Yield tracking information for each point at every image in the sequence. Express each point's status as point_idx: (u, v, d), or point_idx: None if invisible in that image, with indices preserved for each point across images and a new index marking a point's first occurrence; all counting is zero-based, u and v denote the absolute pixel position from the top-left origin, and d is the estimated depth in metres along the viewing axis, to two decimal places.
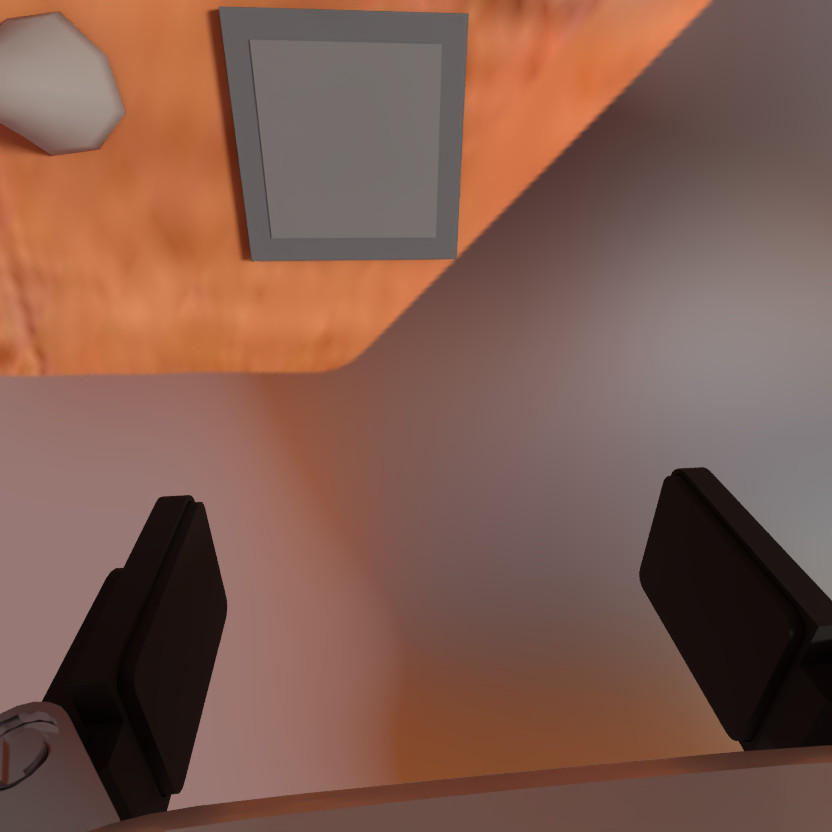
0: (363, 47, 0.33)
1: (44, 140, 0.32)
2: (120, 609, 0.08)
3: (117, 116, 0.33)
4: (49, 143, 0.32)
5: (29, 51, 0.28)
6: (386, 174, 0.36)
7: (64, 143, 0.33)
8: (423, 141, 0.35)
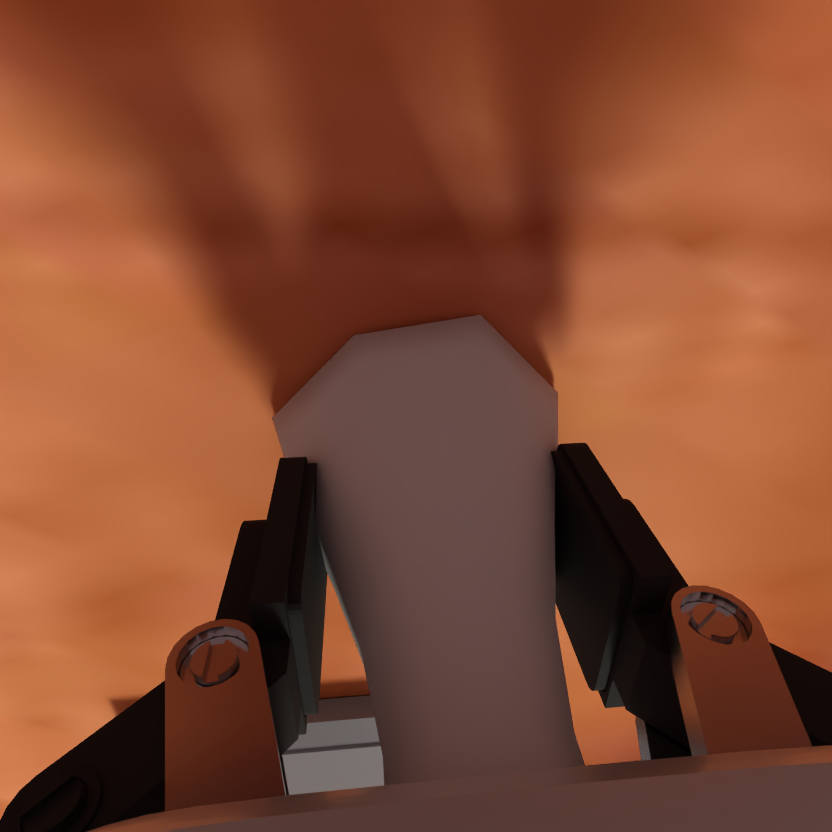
0: None
1: None
2: (276, 546, 0.09)
3: None
4: None
5: None
6: None
7: None
8: None
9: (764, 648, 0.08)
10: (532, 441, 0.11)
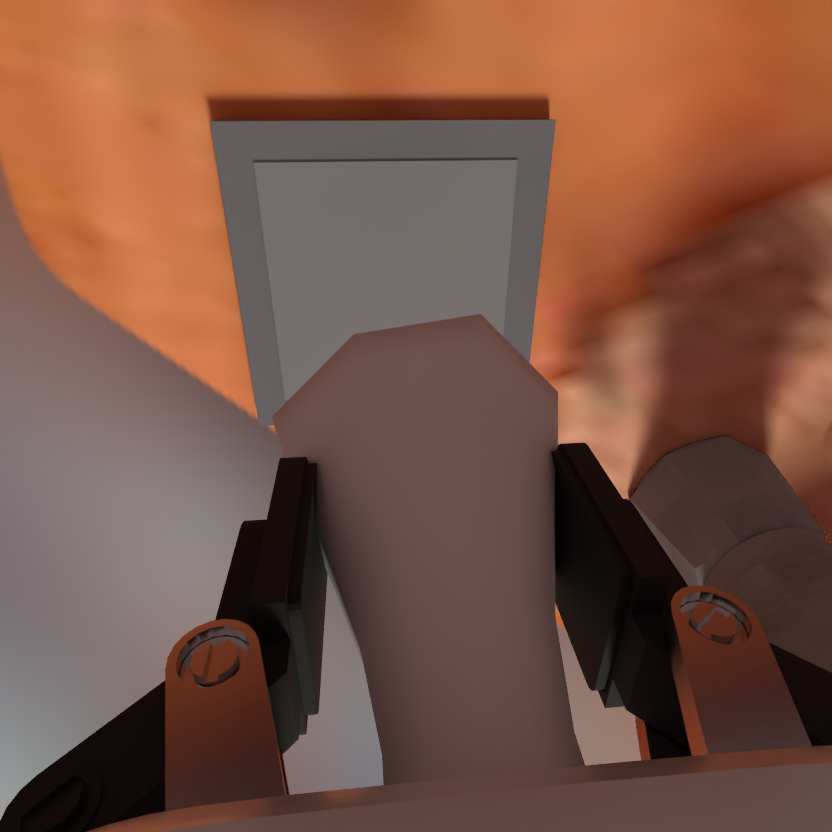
0: (500, 305, 0.27)
1: None
2: (276, 546, 0.09)
3: None
4: None
5: None
6: None
7: None
8: None
9: (764, 648, 0.08)
10: (532, 440, 0.11)
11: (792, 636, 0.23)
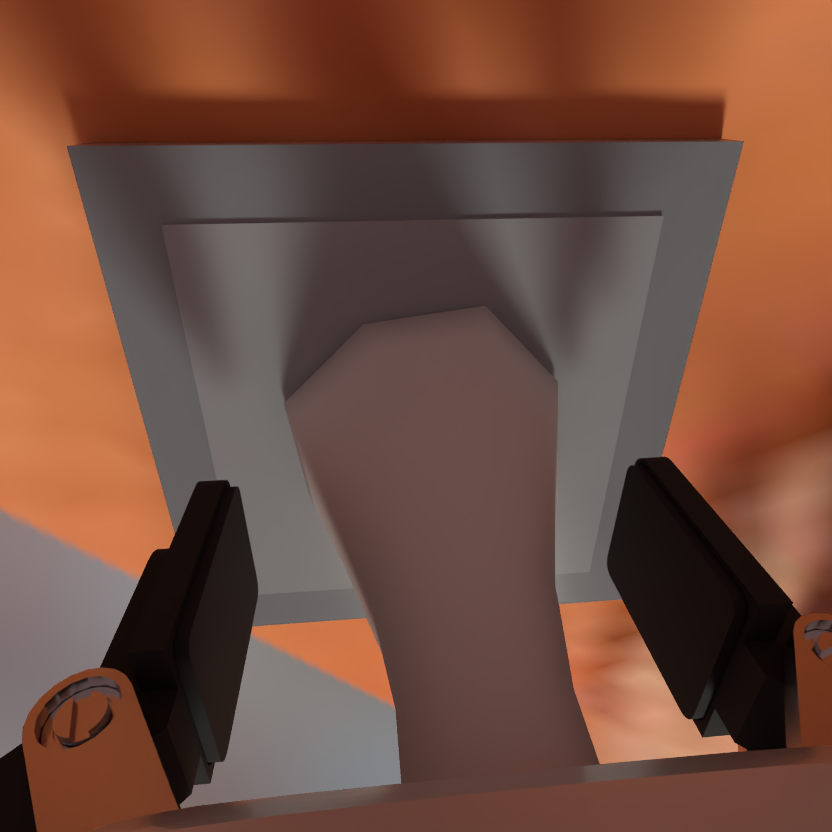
0: (604, 452, 0.16)
1: (322, 500, 0.12)
2: (171, 583, 0.08)
3: None
4: (315, 484, 0.13)
5: None
6: None
7: None
8: None
9: None
10: (534, 425, 0.12)
11: None
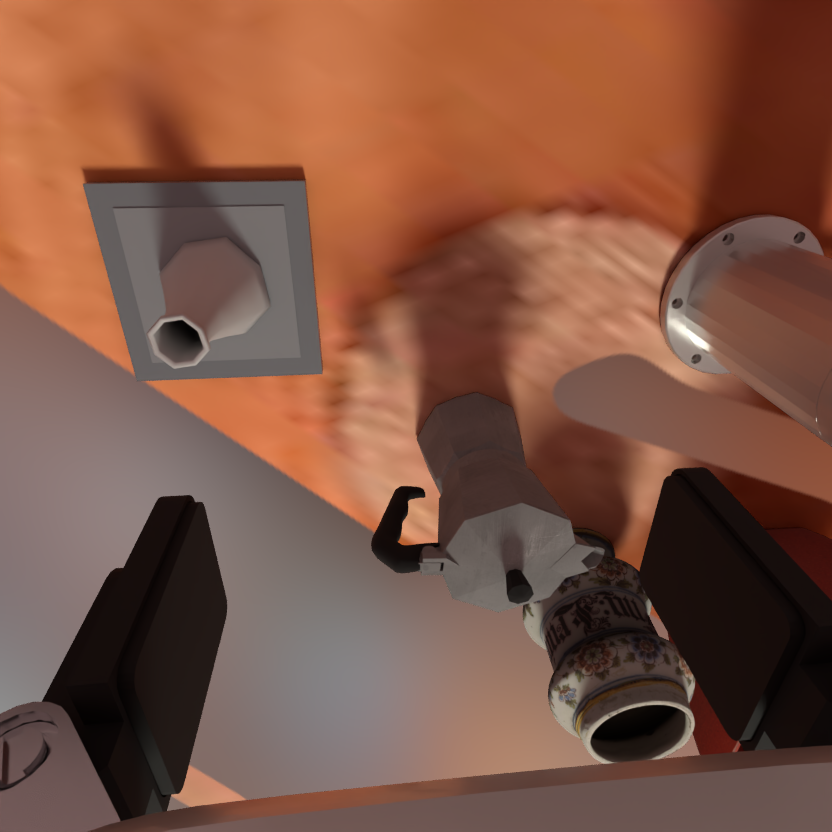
0: (291, 299, 0.41)
1: None
2: (120, 609, 0.08)
3: None
4: None
5: (228, 329, 0.36)
6: None
7: None
8: (230, 347, 0.42)
9: None
10: (234, 273, 0.37)
11: (454, 507, 0.37)
